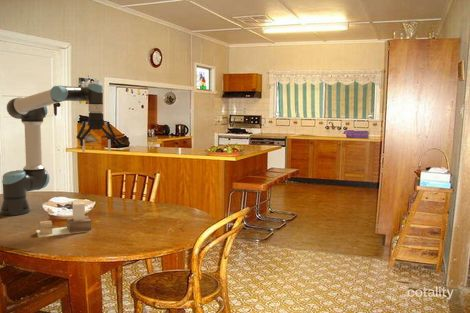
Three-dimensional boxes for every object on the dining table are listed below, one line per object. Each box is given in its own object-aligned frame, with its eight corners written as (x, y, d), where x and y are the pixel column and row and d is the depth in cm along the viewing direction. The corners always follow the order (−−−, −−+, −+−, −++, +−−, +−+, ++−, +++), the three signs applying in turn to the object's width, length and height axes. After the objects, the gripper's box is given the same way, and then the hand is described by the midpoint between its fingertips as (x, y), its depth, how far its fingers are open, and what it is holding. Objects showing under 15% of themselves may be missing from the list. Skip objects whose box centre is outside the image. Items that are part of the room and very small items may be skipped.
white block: (72, 218, 214) (72, 202, 213) (83, 217, 216) (82, 201, 215) (74, 220, 210) (73, 204, 209) (84, 219, 212) (84, 203, 211)
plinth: (67, 227, 216) (66, 217, 215) (87, 225, 220) (87, 215, 220) (69, 232, 207) (69, 222, 206) (91, 230, 212) (91, 220, 211)
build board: (36, 231, 210) (36, 230, 210) (87, 226, 221) (87, 224, 221) (38, 238, 200) (38, 237, 199) (91, 232, 211) (91, 230, 211)
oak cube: (40, 231, 208) (39, 221, 207) (51, 230, 210) (51, 220, 209) (41, 234, 203) (40, 224, 203) (52, 233, 206) (52, 223, 205)
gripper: (72, 112, 222) (73, 153, 224) (120, 112, 234) (121, 151, 236) (70, 112, 228) (71, 151, 231) (117, 112, 240) (118, 150, 243)
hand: (96, 151), depth 234 cm, fingers open, 13 cm apart
